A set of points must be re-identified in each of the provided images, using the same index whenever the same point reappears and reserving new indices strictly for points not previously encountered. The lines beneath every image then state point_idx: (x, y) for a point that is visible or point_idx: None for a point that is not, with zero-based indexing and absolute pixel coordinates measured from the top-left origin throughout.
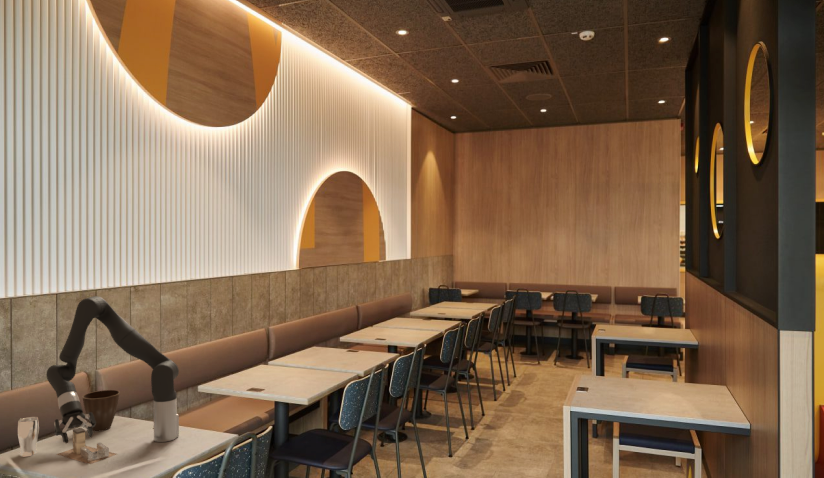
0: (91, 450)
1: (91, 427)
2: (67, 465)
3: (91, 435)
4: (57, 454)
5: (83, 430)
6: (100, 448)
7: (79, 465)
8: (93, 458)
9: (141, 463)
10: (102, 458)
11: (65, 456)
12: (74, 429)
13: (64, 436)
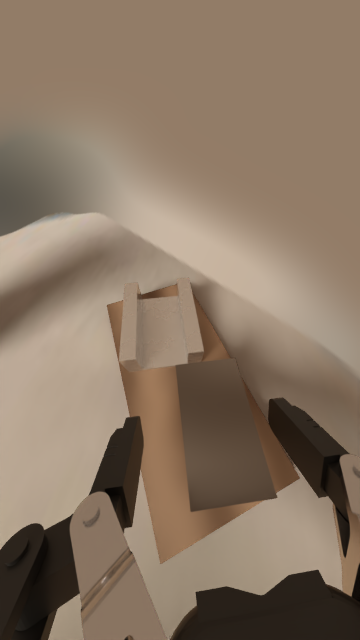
0: (153, 404)
1: (92, 493)
2: (239, 337)
3: (132, 418)
4: (293, 469)
5: (187, 368)
6: (138, 323)
7: (208, 315)
8: (172, 305)
9: (97, 248)
10: (151, 297)
11: (252, 402)
12: (258, 471)
13: (316, 431)
